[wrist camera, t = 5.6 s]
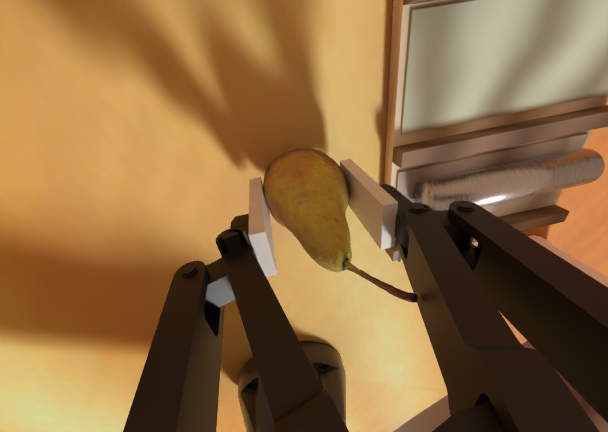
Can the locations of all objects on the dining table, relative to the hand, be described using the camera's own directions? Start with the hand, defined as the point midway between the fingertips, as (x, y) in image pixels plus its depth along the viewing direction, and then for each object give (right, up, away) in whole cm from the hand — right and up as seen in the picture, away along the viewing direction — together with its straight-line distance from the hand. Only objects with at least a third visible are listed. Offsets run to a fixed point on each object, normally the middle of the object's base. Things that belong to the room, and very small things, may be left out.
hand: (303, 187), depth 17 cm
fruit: (0, +1, +2) cm, 2 cm away
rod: (+16, 0, +4) cm, 17 cm away
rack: (+15, +5, +3) cm, 17 cm away
